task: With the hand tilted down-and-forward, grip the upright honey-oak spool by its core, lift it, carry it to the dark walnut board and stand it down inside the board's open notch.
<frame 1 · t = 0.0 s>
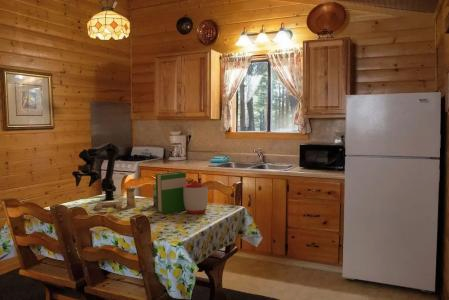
hand: (82, 186, 252), 15 cm above the table, tool tilted 35°, fingers open, 9 cm apart
snack box: (169, 205, 260), on the table
hardback book: (171, 211, 245), on the table
white plant pot: (197, 212, 242), on the table
notched board: (109, 207, 259), on the table
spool: (130, 207, 257), on the table
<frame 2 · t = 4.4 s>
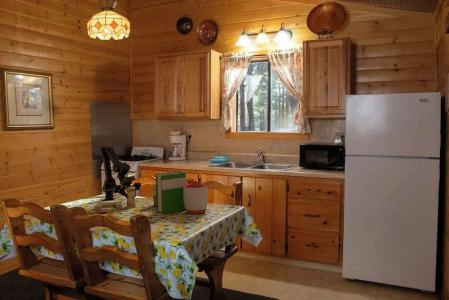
hand: (131, 197, 256), 7 cm above the table, tool tilted 45°, fingers closed on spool, 5 cm apart
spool: (130, 207, 257), on the table, touching gripper
everything else where it was.
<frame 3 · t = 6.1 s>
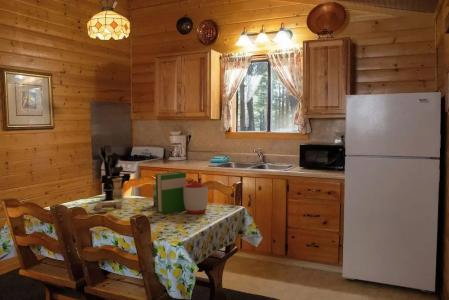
hand: (117, 188, 253), 13 cm above the table, tool tilted 45°, fingers closed on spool, 5 cm apart
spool: (117, 198, 255), point 7 cm above the table, touching gripper
everything else where it was.
when the fingers open (8 cm above the table, at t = 7.8 s): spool drops 2 cm, on the table.
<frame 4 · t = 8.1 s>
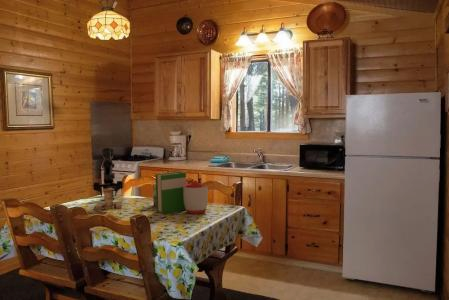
hand: (108, 195, 253), 9 cm above the table, tool tilted 45°, fingers open, 8 cm apart
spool: (109, 208, 255), on the table
everything else where it was.
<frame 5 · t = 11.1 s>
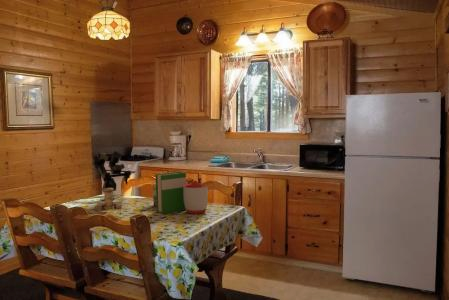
hand: (120, 185, 264), 14 cm above the table, tool tilted 45°, fingers open, 9 cm apart
nothing on the table moved.
at the end: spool inside the target area on the notched board (0.5 cm from its centre), point 0.0 cm above the notched board's base; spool tilted 1°; the gripper is holding nothing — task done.
